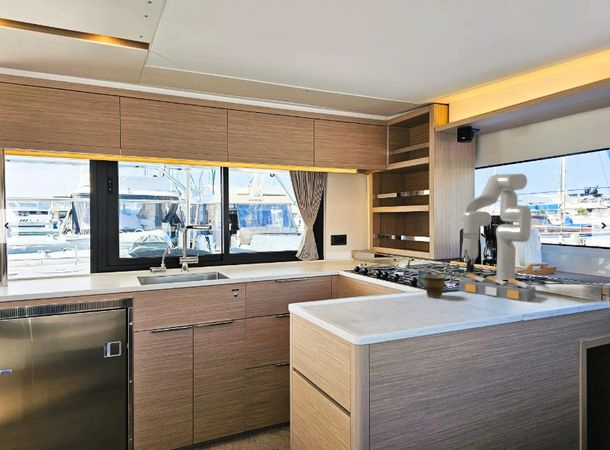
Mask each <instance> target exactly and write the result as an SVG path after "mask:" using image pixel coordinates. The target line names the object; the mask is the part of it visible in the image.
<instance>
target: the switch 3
mask: <svg viewBox="0 0 610 450" xmlns="http://www.w3.org/2000/svg"><path fill="white" fill-rule="evenodd" d="M507 283H512V284H515V285H518V286H521V287H524V288H527V287H528V286H529V284H527V283H525V282H522V281H519V280H515V279H512V278H511V279H509V280H508V281H507Z"/></svg>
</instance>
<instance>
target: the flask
mask: <svg viewBox="0 0 610 450" xmlns="http://www.w3.org/2000/svg"><path fill="white" fill-rule="evenodd" d="M427 268H428V267H427V266H426V267H425V266H424V267H423V268H422V269H420V268H419V269H417V286H418V287H421V288H424V287H423V286H425V282H424V280H423V279H421V278H419V277H422V278H424V275H426V274H432V271H430V270H428V269H427ZM418 278H419V279H418ZM418 281H419V282H420V283H421V284H422V285H423V286H422V285H421V284H420V283H419V282H418Z"/></svg>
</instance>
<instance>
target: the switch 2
mask: <svg viewBox="0 0 610 450" xmlns="http://www.w3.org/2000/svg"><path fill="white" fill-rule="evenodd" d="M486 280H490V281H494V282H497V283H499V284H502V285H504V284H506V283H507V281H503V280H501V279H498V278H496V277H494V275H488V276H487V277H486Z"/></svg>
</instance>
